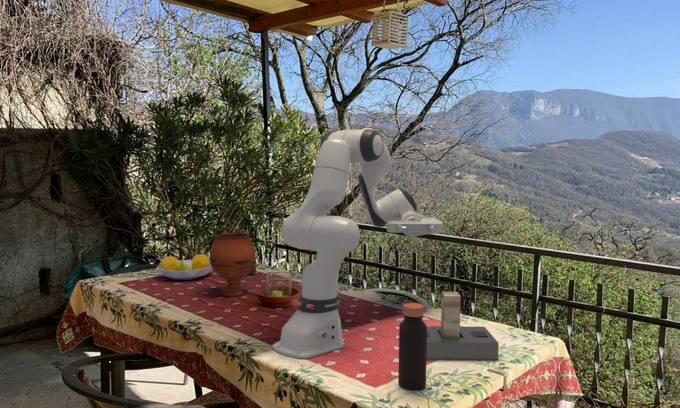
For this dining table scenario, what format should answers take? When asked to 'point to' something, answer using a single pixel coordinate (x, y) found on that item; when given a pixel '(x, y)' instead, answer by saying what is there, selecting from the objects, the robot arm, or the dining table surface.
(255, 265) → the jar
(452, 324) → the birch peg
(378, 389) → the dining table surface
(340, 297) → the pliers
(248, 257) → the goblet
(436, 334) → the socket block
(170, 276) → the fruit bowl
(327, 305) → the robot arm
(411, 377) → the bottle
